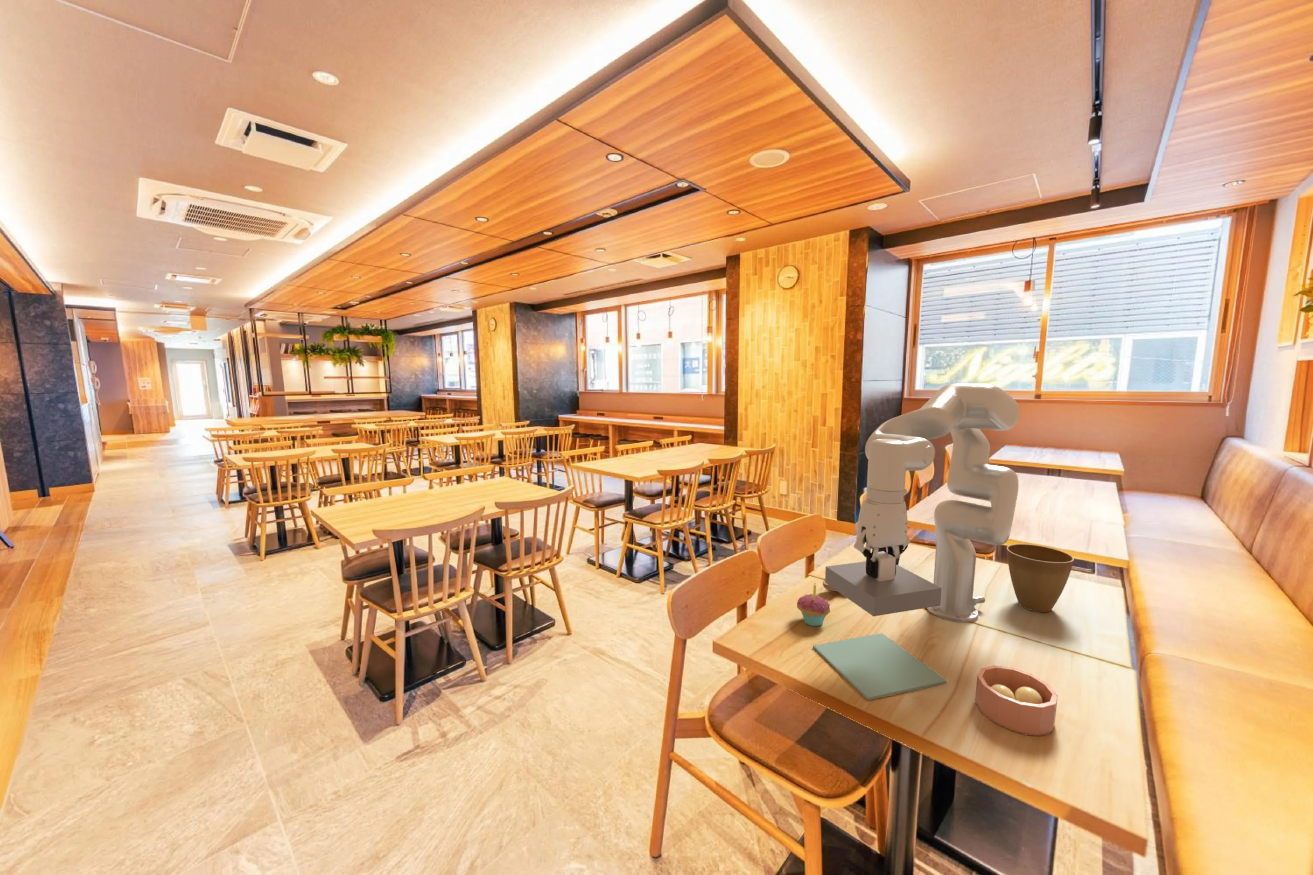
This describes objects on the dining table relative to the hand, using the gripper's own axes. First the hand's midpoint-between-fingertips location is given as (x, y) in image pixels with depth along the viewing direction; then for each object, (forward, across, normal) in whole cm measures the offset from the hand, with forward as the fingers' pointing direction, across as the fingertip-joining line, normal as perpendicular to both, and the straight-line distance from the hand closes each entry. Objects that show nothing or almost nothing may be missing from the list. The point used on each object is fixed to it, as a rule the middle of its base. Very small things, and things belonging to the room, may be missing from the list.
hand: (880, 573), depth 110 cm
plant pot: (+22, -62, -11) cm, 67 cm away
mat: (+22, 0, 0) cm, 22 cm away
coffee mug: (+22, -44, -46) cm, 67 cm away
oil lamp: (+22, -17, -35) cm, 45 cm away
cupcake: (+22, +3, -21) cm, 31 cm away
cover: (+5, 0, 0) cm, 5 cm away
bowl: (+22, -15, +21) cm, 34 cm away
